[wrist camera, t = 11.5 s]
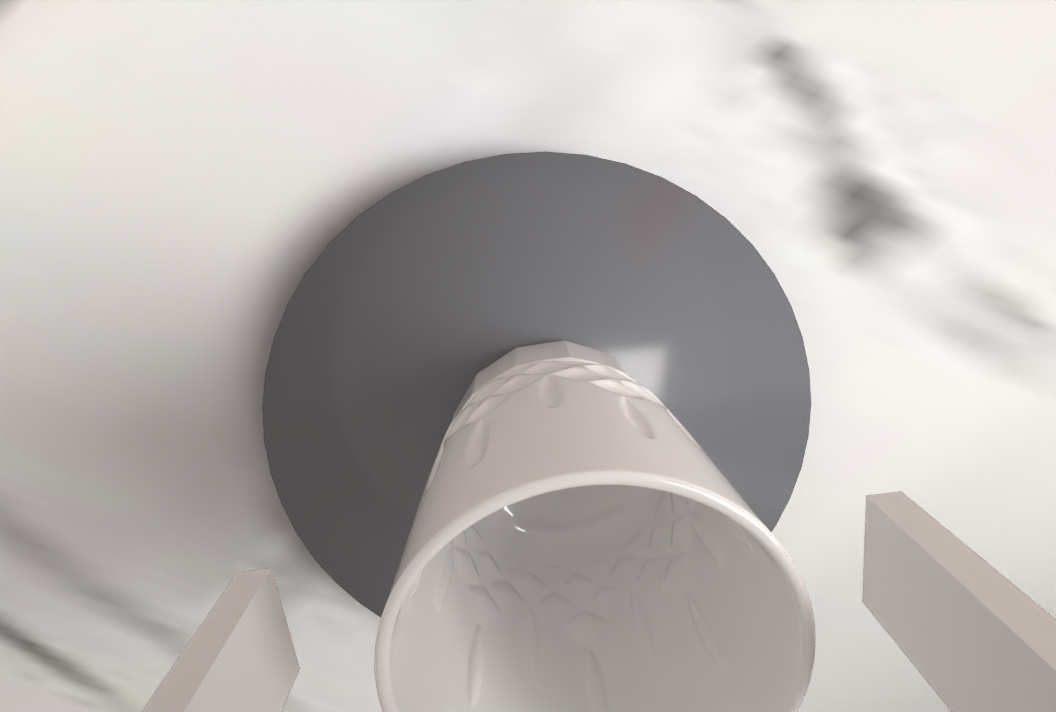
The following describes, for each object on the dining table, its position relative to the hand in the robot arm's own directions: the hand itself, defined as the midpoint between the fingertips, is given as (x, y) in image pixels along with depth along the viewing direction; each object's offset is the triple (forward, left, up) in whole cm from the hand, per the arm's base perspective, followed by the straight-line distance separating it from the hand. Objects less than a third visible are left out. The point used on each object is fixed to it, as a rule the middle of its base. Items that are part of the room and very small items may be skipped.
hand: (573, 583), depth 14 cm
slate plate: (0, 0, -9) cm, 9 cm away
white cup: (0, 0, -7) cm, 7 cm away
